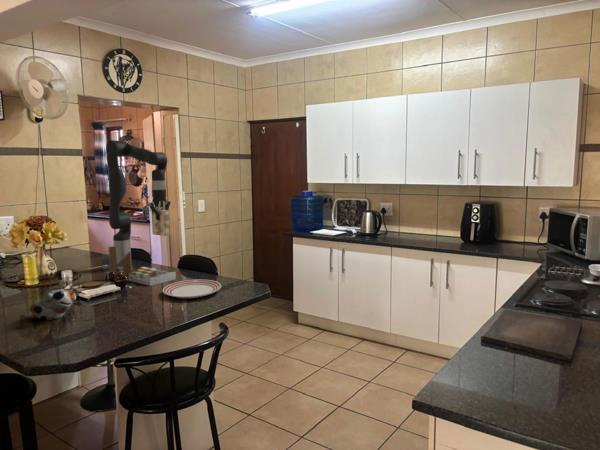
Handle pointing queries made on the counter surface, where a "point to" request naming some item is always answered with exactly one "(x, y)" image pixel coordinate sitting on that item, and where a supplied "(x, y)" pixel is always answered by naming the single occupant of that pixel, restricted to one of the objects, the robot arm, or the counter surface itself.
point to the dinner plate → (192, 288)
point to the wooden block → (124, 262)
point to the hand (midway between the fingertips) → (160, 219)
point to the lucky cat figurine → (53, 304)
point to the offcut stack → (147, 272)
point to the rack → (153, 278)
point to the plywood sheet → (161, 223)
